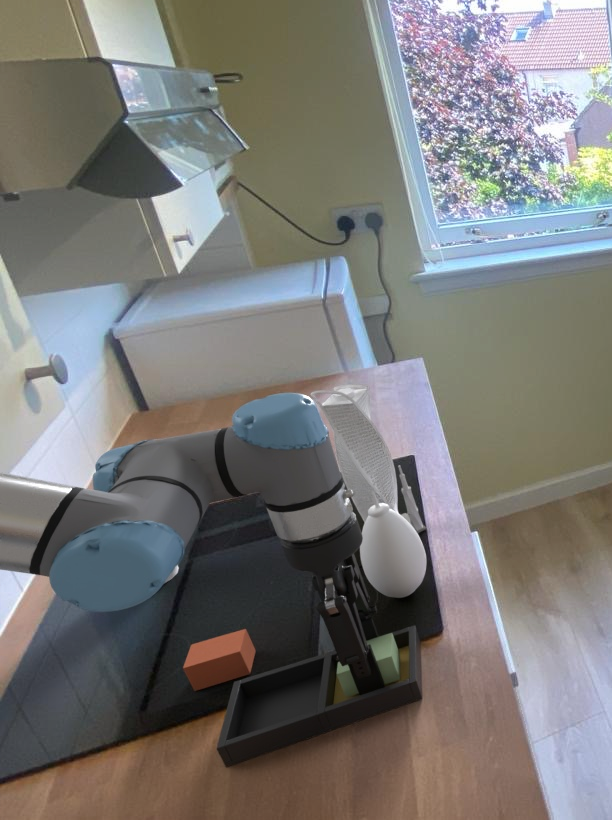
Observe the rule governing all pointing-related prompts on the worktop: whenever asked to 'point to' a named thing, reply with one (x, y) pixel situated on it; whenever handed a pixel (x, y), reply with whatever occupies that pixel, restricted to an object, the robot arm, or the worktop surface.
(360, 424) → the skyscraper
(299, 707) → the divided sorting tray
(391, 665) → the light green block
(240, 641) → the terracotta block
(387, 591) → the white tall egg-shaped piece
